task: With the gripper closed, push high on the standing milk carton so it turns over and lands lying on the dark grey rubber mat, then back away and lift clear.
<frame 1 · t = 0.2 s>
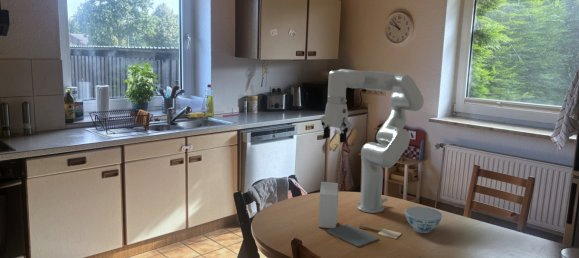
hand: (334, 139, 210), 36 cm above the table, tool pointing down, fingers open, 9 cm apart
milk carton: (327, 225, 211), on the table
turner: (389, 234, 202), on the table
chinaware: (421, 230, 208), on the table
mat: (352, 235, 200), on the table
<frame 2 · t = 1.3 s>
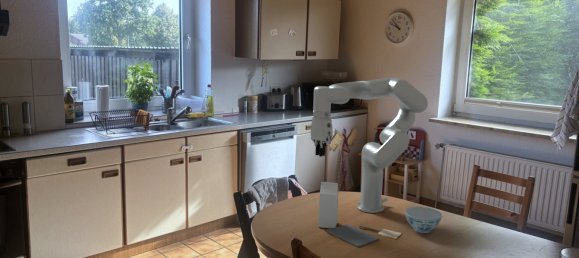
hand: (320, 155, 219), 27 cm above the table, tool pointing down, fingers closed
nothing on the table moved.
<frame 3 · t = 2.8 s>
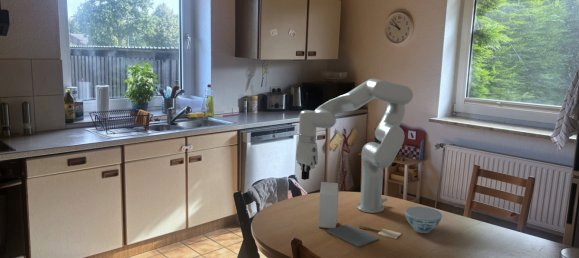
hand: (305, 178, 219), 17 cm above the table, tool pointing down, fingers closed
nothing on the table moved.
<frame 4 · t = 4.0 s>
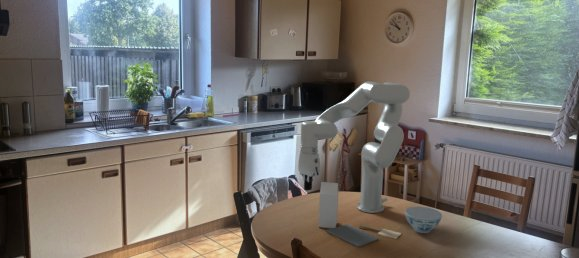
hand: (307, 189, 219), 12 cm above the table, tool pointing down, fingers closed
nothing on the table moved.
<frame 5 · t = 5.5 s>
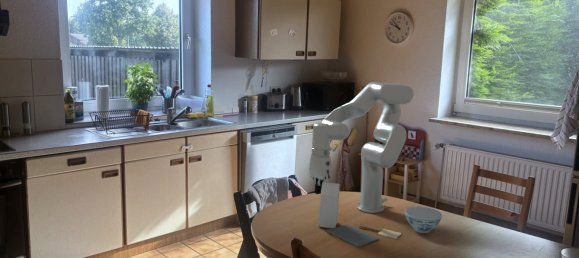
hand: (318, 193, 212), 13 cm above the table, tool pointing down, fingers closed
milk carton: (327, 224, 211), on the table, touching gripper
everything else where it was.
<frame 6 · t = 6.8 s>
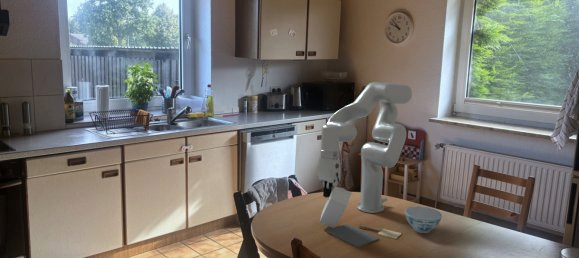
hand: (327, 196, 208), 13 cm above the table, tool pointing down, fingers closed
milk carton: (328, 220, 210), point 2 cm above the table, touching gripper, mat
everything else where it was.
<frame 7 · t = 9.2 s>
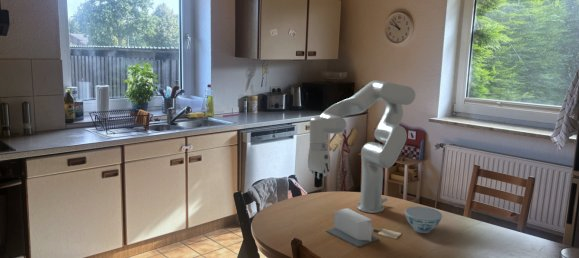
hand: (318, 186, 214), 15 cm above the table, tool pointing down, fingers closed
milk carton: (340, 217, 209), point 4 cm above the table, touching mat
everything else where it was.
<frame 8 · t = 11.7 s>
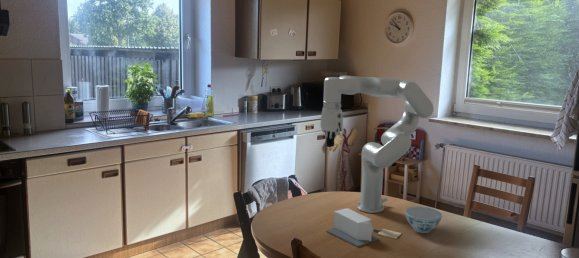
hand: (330, 146, 219), 31 cm above the table, tool pointing down, fingers closed
nothing on the table moved.
at the end: milk carton tilted 90°; milk carton inside the target area (3.7 cm from its centre), point 4.2 cm above the table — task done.
